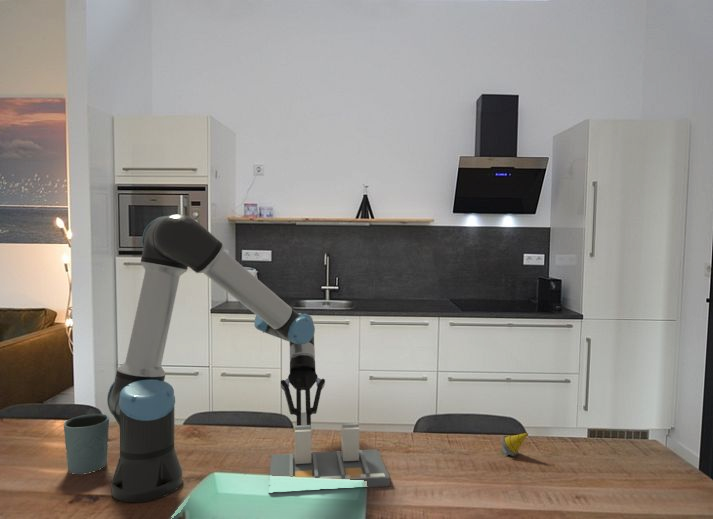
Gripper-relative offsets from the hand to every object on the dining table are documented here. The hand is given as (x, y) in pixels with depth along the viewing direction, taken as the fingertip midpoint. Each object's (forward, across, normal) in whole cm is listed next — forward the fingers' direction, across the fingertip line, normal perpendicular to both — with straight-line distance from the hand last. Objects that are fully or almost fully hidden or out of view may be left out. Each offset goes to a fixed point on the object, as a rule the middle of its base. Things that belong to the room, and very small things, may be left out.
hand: (304, 437), depth 127 cm
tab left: (+7, +1, +3) cm, 7 cm away
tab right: (+7, -11, +3) cm, 14 cm away
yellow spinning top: (+8, -56, 0) cm, 57 cm away
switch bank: (+11, -5, +3) cm, 12 cm away
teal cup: (+3, +54, -5) cm, 55 cm away
